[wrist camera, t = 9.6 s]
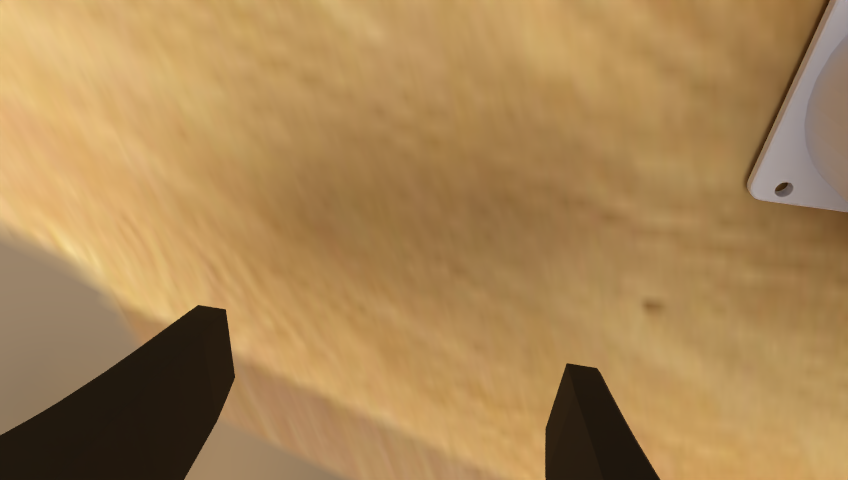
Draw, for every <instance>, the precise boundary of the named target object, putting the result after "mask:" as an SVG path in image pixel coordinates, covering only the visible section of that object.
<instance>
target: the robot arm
mask: <svg viewBox="0 0 848 480" xmlns="http://www.w3.org/2000/svg"><path fill="white" fill-rule="evenodd" d="M784 182H788V185H787V186H786V188H785V189H783V190H781V191H775V188H776V187H777V186H778V185H779V184H781V183H784ZM747 188H748V191H749V192H750V194H751V195H752V196H753V197H754V198H755V199H758V200H761V201H769V202H776V203H783V204H790V205H798V206H805V207H812V208H820V209H827V210H834V211H841V212H848V0H830V2H829V4H828V6H827V8H826V10H825V13H824V15H823V17H822V19H821V21H820V24H819V26H818V28H817V30H816V32H815V34H814V37H813V39H812V41H811V43H810V45H809V48H808V50H807V52H806V54H805V56H804V59H803V61H802V63H801V65H800V67H799V70H798V72H797V74H796V76H795V78H794V81H793V83H792V85H791V87H790V89H789V92H788V94H787V96H786V98H785V100H784V102H783V105H782V107H781V109H780V111H779V113H778V116H777V118H776V120H775V122H774V124H773V127H772V129H771V131H770V133H769V135H768V138H767V140H766V142H765V144H764V146H763V149H762V151H761V153H760V155H759V157H758V160H757V162H756V164H755V166H754V168H753V170H752V173H751V175H750V177H749V179H748V183H747ZM234 378H235V374H234V366H233V359H232V352H231V344H230V337H229V329H228V322H227V315H226V309H219V308H213V307H207V306H200V305H198V306H196V307H195V308H194V309H192V310H191V311H189V312H188V313H186V314H185V315H184V316H182V317H181V318H180V319H178V320H177V321H175V322H174V323H173V324H171V325H170V326H169V327H167V328H166V329H164V330H163V331H162V332H160V333H159V334H158V335H156V336H155V337H153V338H152V339H151V340H149V341H148V342H147V343H145V344H144V345H142V346H141V347H140V348H138V349H137V350H135V351H134V352H133V353H131V354H130V355H128V356H127V357H126V358H124V359H123V360H121V361H120V362H118V363H117V364H116V365H114V366H113V367H111V368H110V369H109V370H107V371H106V372H104V373H103V374H101V375H100V376H98V377H96V378H95V379H93V380H92V381H90V382H89V383H87V384H86V385H84V386H83V387H81V388H80V389H78V390H77V391H75V392H73V393H72V394H70V395H69V396H67V397H66V398H64V399H63V400H61V401H60V402H58V403H56V404H55V405H53V406H51V407H50V408H48V409H46V410H45V411H43V412H41V413H40V414H38V415H36V416H34V417H33V418H31V419H29V420H27V421H26V422H24V423H22V424H20V425H18V426H17V427H15V428H13V429H11V430H9V431H8V432H6V433H4V434H2V435H0V480H184V479H185V477H186V475H187V473H188V472H189V470H190V468H191V466H192V464H193V463H194V461H195V459H196V458H197V456H198V454H199V452H200V450H201V449H202V447H203V445H204V443H205V442H206V440H207V438H208V436H209V435H210V433H211V431H212V429H213V427H214V425H215V424H216V422H217V420H218V417H219V415H220V413H221V410H222V408H223V406H224V403H225V401H226V399H227V396H228V394H229V391H230V389H231V386H232V384H233V381H234ZM545 477H546V480H660V478H659V477H658V475H657V474H656V472H655V470H654V469H653V467H652V465H651V464H650V462H649V460H648V459H647V457H646V455H645V454H644V452H643V450H642V449H641V447H640V445H639V444H638V442H637V440H636V439H635V437H634V435H633V433H632V432H631V430H630V428H629V426H628V424H627V423H626V421H625V419H624V417H623V415H622V413H621V412H620V410H619V408H618V406H617V404H616V402H615V400H614V398H613V397H612V395H611V393H610V391H609V389H608V387H607V385H606V383H605V381H604V379H603V377H602V375H601V373H600V372H599V370H598V369H597V368H593V367H587V366H580V365H574V364H568V363H567V364H566V367H565V370H564V373H563V376H562V380H561V383H560V386H559V389H558V392H557V395H556V398H555V401H554V404H553V407H552V410H551V414H550V417H549V420H548V423H547V426H546V443H545Z"/></svg>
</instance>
